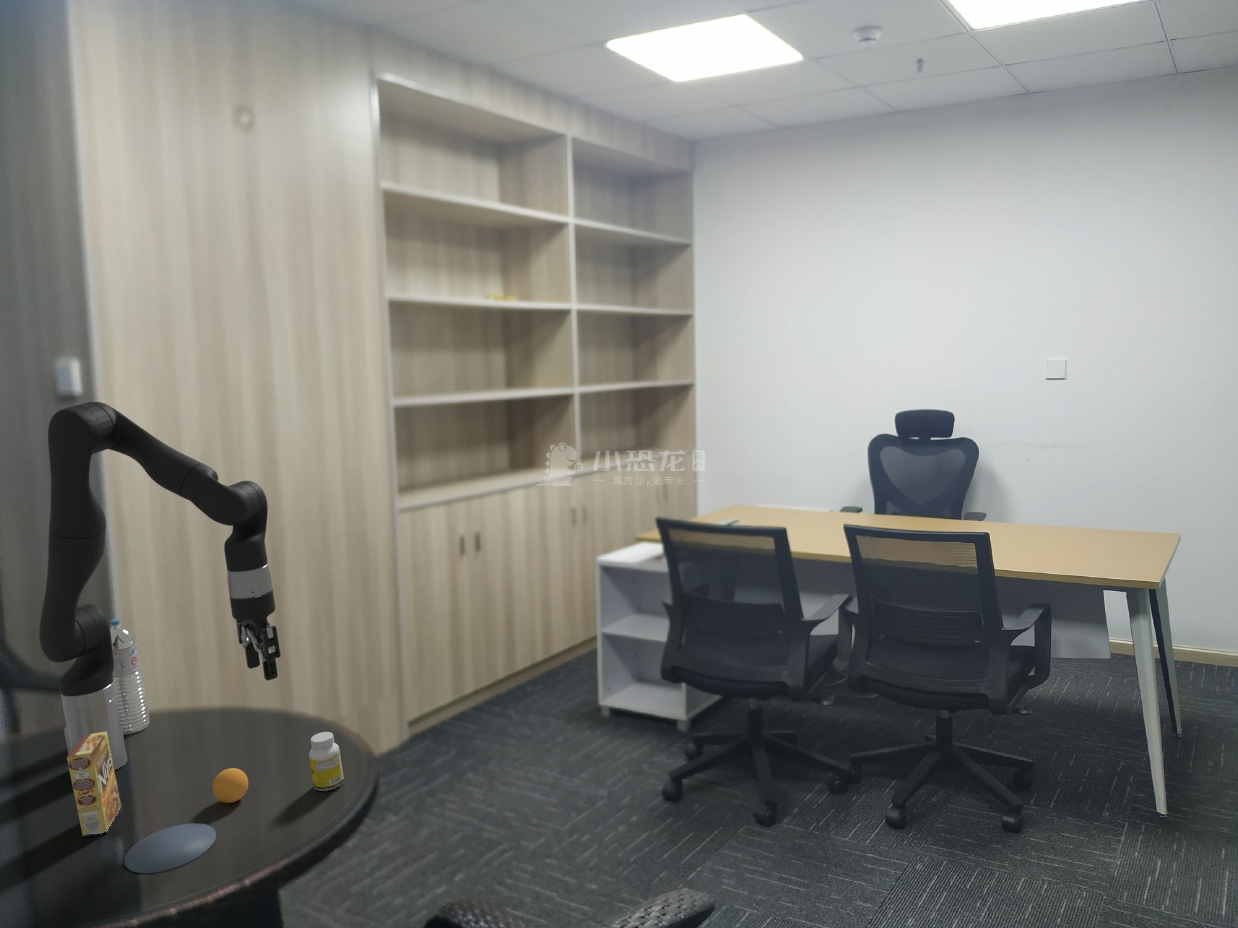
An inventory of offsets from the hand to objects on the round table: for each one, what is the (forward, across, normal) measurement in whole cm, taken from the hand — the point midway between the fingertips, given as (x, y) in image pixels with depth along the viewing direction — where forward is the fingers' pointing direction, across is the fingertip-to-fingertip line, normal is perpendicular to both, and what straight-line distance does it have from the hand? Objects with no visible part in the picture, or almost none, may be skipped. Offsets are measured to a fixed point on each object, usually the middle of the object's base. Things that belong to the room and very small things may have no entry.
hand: (262, 672), depth 172 cm
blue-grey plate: (+21, +10, -22) cm, 32 cm away
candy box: (+22, -8, -28) cm, 37 cm away
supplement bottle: (+21, +11, +5) cm, 25 cm away
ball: (+18, +2, -9) cm, 20 cm away
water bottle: (+22, -48, -13) cm, 54 cm away
